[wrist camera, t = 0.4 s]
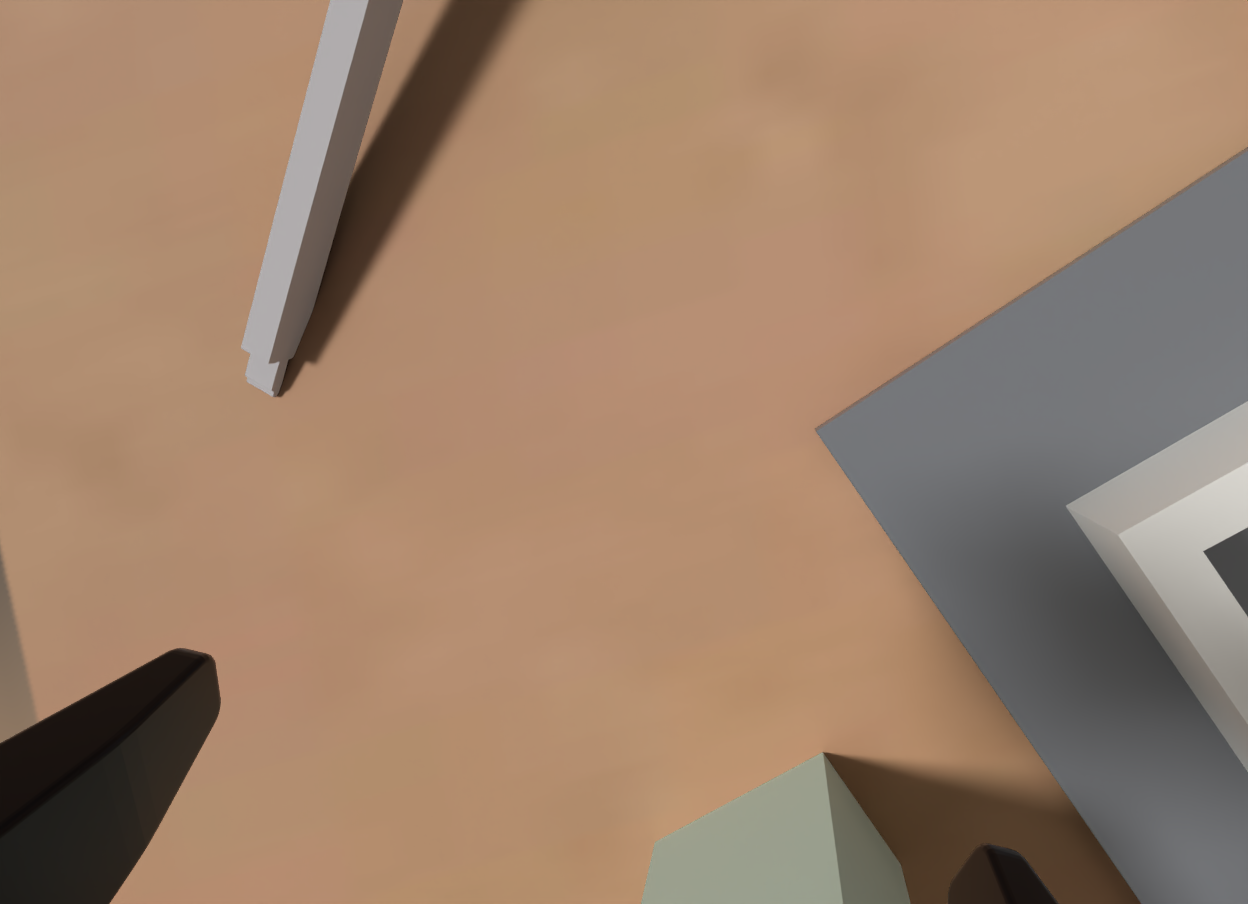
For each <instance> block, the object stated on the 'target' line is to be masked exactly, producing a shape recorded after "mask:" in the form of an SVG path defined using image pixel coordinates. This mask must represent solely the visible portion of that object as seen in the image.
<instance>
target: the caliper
mask: <svg viewBox="0 0 1248 904" xmlns="http://www.w3.org/2000/svg"><path fill="white" fill-rule="evenodd" d="M402 2H403V0H330V4H329V8H328V12H327V16H326V19H325V23H324V27H323V31H322V35H321V39H320V43H319V46H318V50H317V54H316V58H315V62H314V66H313V70H312V74H311V77H310V81H309V85H308V89H307V93H306V97H305V101H304V104H303V108H302V112H301V116H300V120H299V124H298V128H297V131H296V135H295V139H294V143H293V147H292V151H291V155H290V159H289V162H288V166H287V170H286V174H285V178H284V182H283V186H282V189H281V193H280V197H279V201H278V205H277V209H276V213H275V217H274V221H273V224H272V228H271V232H270V236H269V240H268V244H267V248H266V252H265V256H264V260H263V264H262V268H261V271H260V275H259V279H258V283H257V287H256V291H255V295H254V299H253V303H252V307H251V311H250V315H249V319H248V322H247V326H246V330H245V334H244V338H243V342H242V346H241V348H242V349H243V350H245V351H247V352H249V353H250V358H249V361H248V365H247V369H246V373H245V376H247V382H248V383H250V384H252V385H253V386H255V387H257V388H258V389H260V390H262V391H264V392H265V393H267V394H269V395H271V396H272V397H276V396H277V395H278V393H279V391H280V388H281V385H282V382H283V378H284V374H285V370H286V367H287V363H288V360H289V359H291V358H293V357H294V355H295V352H296V350H297V348H298V345H299V343H300V340H301V338H302V335H303V333H304V331H305V328H306V326H307V323H308V321H309V319H310V316H311V314H312V311H313V308H314V305H315V301H316V298H317V294H318V291H319V287H320V284H321V280H322V277H323V273H324V270H325V266H326V263H327V260H328V256H329V253H330V249H331V246H332V242H333V239H334V235H335V232H336V228H337V225H338V221H339V218H340V214H341V211H342V207H343V204H344V201H345V197H346V194H347V190H348V187H349V183H350V180H351V176H352V173H353V169H354V166H355V162H356V159H357V155H358V152H359V149H360V145H361V142H362V138H363V135H364V132H365V128H366V125H367V121H368V118H369V115H370V111H371V108H372V104H373V101H374V98H375V94H376V91H377V87H378V84H379V81H380V77H381V74H382V70H383V67H384V64H385V60H386V57H387V53H388V50H389V47H390V43H391V40H392V36H393V33H394V30H395V26H396V23H397V19H398V16H399V13H400V9H401V6H402Z"/></svg>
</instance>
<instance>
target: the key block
mask: <svg viewBox="0 0 1248 904" xmlns="http://www.w3.org/2000/svg"><path fill="white" fill-rule="evenodd" d="M641 904H911V903H910V899H909V895H908V891H907V887H906V883H905V879H904V875H903V871H902V867H901V864H900V863H899V861H898V860H897V858H896V857H895V855H894V854H893V853H892V851H891V850H890V848H889V847H888V845H887V844H886V843H885V841H884V840H883V838H882V837H881V835H880V834H879V832H878V831H877V830H876V828H875V827H874V825H873V824H872V822H871V821H870V819H869V818H868V817H867V815H866V814H865V812H864V811H863V809H862V808H861V806H860V805H859V804H858V802H857V801H856V799H855V798H854V796H853V795H852V793H851V792H850V791H849V789H848V788H847V786H846V785H845V783H844V782H843V780H842V779H841V778H840V776H839V775H838V773H837V772H836V770H835V769H834V767H833V766H832V765H831V763H830V762H829V760H828V759H827V757H826V756H825V754H824V753H823V752H822V753H820V754H818V755H816V756H815V757H813V758H811V759H809V760H807V761H805V762H803V763H801V764H800V765H798V766H796V767H794V768H792V769H790V770H788V771H787V772H785V773H783V774H781V775H779V776H777V777H775V778H774V779H772V780H770V781H768V782H766V783H764V784H762V785H760V786H759V787H757V788H755V789H753V790H751V791H749V792H747V793H746V794H744V795H742V796H740V797H738V798H736V799H734V800H732V801H731V802H729V803H727V804H725V805H723V806H721V807H719V808H718V809H716V810H714V811H712V812H710V813H708V814H706V815H705V816H703V817H701V818H699V819H697V820H695V821H693V822H692V823H690V824H688V825H686V826H684V827H682V828H680V829H678V830H677V831H675V832H673V833H671V834H669V835H667V836H665V837H664V838H662V839H660V840H658V841H656V842H655V844H654V849H653V853H652V858H651V862H650V866H649V871H648V875H647V880H646V884H645V889H644V893H643V898H642V902H641Z"/></svg>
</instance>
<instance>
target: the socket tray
mask: <svg viewBox="0 0 1248 904" xmlns="http://www.w3.org/2000/svg"><path fill="white" fill-rule="evenodd" d="M815 430H816V432H817V434H818V435H819V436H820V438H821V439H822V441H823V442H824V444H825V445H826V447H827V448H828V449H829V451H830V452H831V454H832V455H833V457H834V458H835V460H836V461H837V463H838V464H839V465H840V467H841V468H842V470H843V471H844V473H845V474H846V476H847V477H848V479H849V480H850V481H851V483H852V484H853V486H854V487H855V489H856V490H857V492H858V493H859V495H860V496H861V497H862V499H863V500H864V502H865V503H866V505H867V506H868V508H869V509H870V510H871V512H872V513H873V515H874V516H875V518H876V519H877V521H878V522H879V524H880V525H881V526H882V528H883V529H884V531H885V532H886V534H887V535H888V537H889V538H890V540H891V541H892V542H893V544H894V545H895V547H896V548H897V550H898V551H899V553H900V554H901V555H902V557H903V558H904V560H905V561H906V563H907V564H908V566H909V567H910V569H911V570H912V571H913V573H914V574H915V576H916V577H917V579H918V580H919V582H920V583H921V585H922V586H923V587H924V589H925V590H926V592H927V593H928V595H929V596H930V598H931V599H932V600H933V602H934V603H935V605H936V606H937V608H938V609H939V611H940V612H941V614H942V615H943V616H944V618H945V619H946V621H947V622H948V624H949V625H950V627H951V628H952V630H953V631H954V632H955V634H956V635H957V637H958V638H959V640H960V641H961V643H962V644H963V645H964V647H965V648H966V650H967V651H968V653H969V654H970V656H971V657H972V659H973V660H974V661H975V663H976V664H977V666H978V667H979V669H980V670H981V672H982V673H983V675H984V676H985V677H986V679H987V680H988V682H989V683H990V685H991V686H992V688H993V689H994V690H995V692H996V693H997V695H998V696H999V698H1000V699H1001V701H1002V702H1003V704H1004V705H1005V706H1006V708H1007V709H1008V711H1009V712H1010V714H1011V715H1012V717H1013V718H1014V720H1015V721H1016V722H1017V724H1018V725H1019V727H1020V728H1021V730H1022V731H1023V733H1024V734H1025V735H1026V737H1027V738H1028V740H1029V741H1030V743H1031V744H1032V746H1033V747H1034V749H1035V750H1036V751H1037V753H1038V754H1039V756H1040V757H1041V759H1042V760H1043V762H1044V763H1045V765H1046V766H1047V767H1048V769H1049V770H1050V772H1051V773H1052V775H1053V776H1054V778H1055V779H1056V780H1057V782H1058V783H1059V785H1060V786H1061V788H1062V789H1063V791H1064V792H1065V794H1066V795H1067V796H1068V798H1069V799H1070V801H1071V802H1072V804H1073V805H1074V807H1075V808H1076V810H1077V811H1078V812H1079V814H1080V815H1081V817H1082V818H1083V820H1084V821H1085V823H1086V824H1087V825H1088V827H1089V828H1090V830H1091V831H1092V833H1093V834H1094V836H1095V837H1096V839H1097V840H1098V841H1099V843H1100V844H1101V846H1102V847H1103V849H1104V850H1105V852H1106V853H1107V855H1108V856H1109V857H1110V859H1111V860H1112V862H1113V863H1114V865H1115V866H1116V868H1117V869H1118V871H1119V872H1120V873H1121V875H1122V876H1123V878H1124V879H1125V881H1126V882H1127V884H1128V885H1129V886H1130V888H1131V889H1132V891H1133V892H1134V894H1135V895H1136V897H1137V898H1138V900H1139V901H1140V902H1141V904H1248V147H1247V148H1245V149H1244V150H1242V151H1241V152H1239V153H1238V154H1236V155H1235V156H1233V157H1232V158H1230V159H1229V160H1227V161H1225V162H1224V163H1222V164H1221V165H1219V166H1218V167H1216V168H1215V169H1213V170H1212V171H1210V172H1209V173H1207V174H1205V175H1204V176H1202V177H1201V178H1199V179H1198V180H1196V181H1195V182H1193V183H1192V184H1190V185H1189V186H1187V187H1186V188H1184V189H1182V190H1181V191H1179V192H1178V193H1176V194H1175V195H1173V196H1172V197H1170V198H1169V199H1167V200H1166V201H1164V202H1162V203H1161V204H1159V205H1158V206H1156V207H1155V208H1153V209H1152V210H1150V211H1149V212H1147V213H1146V214H1144V215H1143V216H1141V217H1139V218H1138V219H1136V220H1135V221H1133V222H1132V223H1130V224H1129V225H1127V226H1126V227H1124V228H1123V229H1121V230H1119V231H1118V232H1116V233H1115V234H1113V235H1112V236H1110V237H1109V238H1107V239H1106V240H1104V241H1103V242H1101V243H1099V244H1098V245H1096V246H1095V247H1093V248H1092V249H1090V250H1089V251H1087V252H1086V253H1084V254H1083V255H1081V256H1080V257H1078V258H1076V259H1075V260H1073V261H1072V262H1070V263H1069V264H1067V265H1066V266H1064V267H1063V268H1061V269H1060V270H1058V271H1056V272H1055V273H1053V274H1052V275H1050V276H1049V277H1047V278H1046V279H1044V280H1043V281H1041V282H1040V283H1038V284H1037V285H1035V286H1033V287H1032V288H1030V289H1029V290H1027V291H1026V292H1024V293H1023V294H1021V295H1020V296H1018V297H1017V298H1015V299H1013V300H1012V301H1010V302H1009V303H1007V304H1006V305H1004V306H1003V307H1001V308H1000V309H998V310H997V311H995V312H993V313H992V314H990V315H989V316H987V317H986V318H984V319H983V320H981V321H980V322H978V323H977V324H975V325H974V326H972V327H970V328H969V329H967V330H966V331H964V332H963V333H961V334H960V335H958V336H957V337H955V338H954V339H952V340H950V341H949V342H947V343H946V344H944V345H943V346H941V347H940V348H938V349H937V350H935V351H934V352H932V353H931V354H929V355H927V356H926V357H924V358H923V359H921V360H920V361H918V362H917V363H915V364H914V365H912V366H911V367H909V368H907V369H906V370H904V371H903V372H901V373H900V374H898V375H897V376H895V377H894V378H892V379H891V380H889V381H887V382H886V383H884V384H883V385H881V386H880V387H878V388H877V389H875V390H874V391H872V392H871V393H869V394H868V395H866V396H864V397H863V398H861V399H860V400H858V401H857V402H855V403H854V404H852V405H851V406H849V407H848V408H846V409H844V410H843V411H841V412H840V413H838V414H837V415H835V416H834V417H832V418H831V419H829V420H828V421H826V422H824V423H823V424H821V425H820V426H818V427H817V428H815Z"/></svg>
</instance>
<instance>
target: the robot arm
mask: <svg viewBox="0 0 1248 904" xmlns="http://www.w3.org/2000/svg"><path fill="white" fill-rule="evenodd" d="M220 704H221V698H220V691H219V684H218V677H217V670H216V663H215V660H214V659H213V657H212V656H211V655H209V654H206V653H202V652H198V651H194V650H190V649H185V648H177V649H174V650H171V651H168V652H166V653H165V654H163V655H161V656H159V657H157V658H155V659H154V660H152V661H150V662H148V663H146V664H144V665H143V666H141V667H139V668H137V669H135V670H133V671H132V672H130V673H128V674H126V675H124V676H122V677H121V678H119V679H117V680H115V681H113V682H111V683H110V684H108V685H106V686H104V687H102V688H100V689H99V690H97V691H95V692H93V693H91V694H89V695H88V696H86V697H84V698H82V699H80V700H78V701H77V702H75V703H73V704H71V705H69V706H67V707H66V708H64V709H62V710H60V711H58V712H56V713H55V714H53V715H51V716H49V717H47V718H45V719H44V720H42V721H40V722H38V723H36V724H34V725H33V726H31V727H29V728H27V729H25V730H23V731H22V732H20V733H18V734H16V735H14V736H13V737H11V738H9V739H7V740H5V741H3V742H1V743H0V904H110V902H111V901H112V899H113V898H114V896H115V895H116V893H117V892H118V890H119V889H120V887H121V886H122V884H123V883H124V881H125V880H126V878H127V877H128V875H129V874H130V872H131V871H132V869H133V868H134V866H135V865H136V863H137V862H138V860H139V859H140V857H141V855H142V854H143V852H144V851H145V849H146V848H147V846H148V844H149V843H150V841H151V839H152V837H153V836H154V834H155V832H156V830H157V829H158V827H159V825H160V823H161V821H162V819H163V818H164V816H165V814H166V812H167V810H168V808H169V807H170V805H171V803H172V801H173V799H174V797H175V795H176V794H177V792H178V790H179V788H180V786H181V784H182V783H183V781H184V779H185V777H186V775H187V773H188V771H189V770H190V768H191V766H192V764H193V762H194V760H195V759H196V757H197V755H198V753H199V751H200V749H201V747H202V746H203V744H204V742H205V740H206V738H207V736H208V735H209V733H210V731H211V729H212V727H213V725H214V723H215V721H216V719H217V717H218V714H219V710H220ZM948 904H1058V902H1057V901H1056V900H1055V898H1054V897H1053V896H1052V894H1051V893H1050V892H1049V890H1048V889H1047V888H1046V886H1045V885H1044V883H1043V882H1042V881H1041V879H1040V878H1039V877H1038V875H1037V874H1036V873H1035V871H1034V870H1033V869H1032V867H1031V866H1030V865H1029V863H1028V862H1027V861H1026V859H1025V858H1024V857H1023V856H1022V855H1021V854H1019V853H1018V852H1016V851H1014V850H1012V849H1008V848H1004V847H1000V846H996V845H991V844H987V843H983V844H980V845H978V846H977V847H976V848H975V849H974V850H973V852H972V853H971V854H970V856H969V857H968V859H967V860H966V861H965V863H964V864H963V866H962V867H961V868H960V870H959V871H958V872H957V874H956V875H955V877H954V878H953V880H952V882H951V884H950V887H949V892H948Z"/></svg>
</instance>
